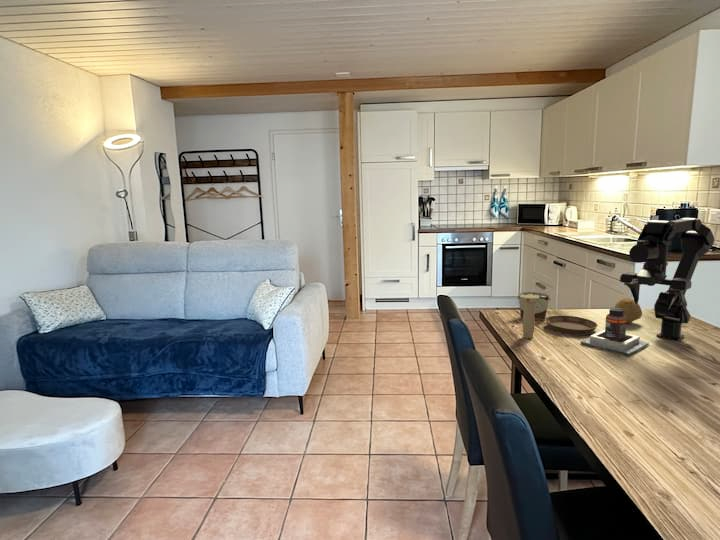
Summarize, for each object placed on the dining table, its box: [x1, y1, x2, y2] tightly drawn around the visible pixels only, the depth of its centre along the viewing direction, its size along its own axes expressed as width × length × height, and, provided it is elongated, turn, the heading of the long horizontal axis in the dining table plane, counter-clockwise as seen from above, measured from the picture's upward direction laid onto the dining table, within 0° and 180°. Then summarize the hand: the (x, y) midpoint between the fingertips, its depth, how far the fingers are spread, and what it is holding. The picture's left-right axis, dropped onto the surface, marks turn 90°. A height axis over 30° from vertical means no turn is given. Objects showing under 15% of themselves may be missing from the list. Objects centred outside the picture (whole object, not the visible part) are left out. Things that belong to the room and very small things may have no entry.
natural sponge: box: [614, 296, 643, 324], centre depth 168 cm, size 9×9×10 cm
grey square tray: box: [580, 328, 650, 358], centre depth 145 cm, size 15×15×3 cm
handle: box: [520, 295, 539, 339], centre depth 154 cm, size 5×6×15 cm
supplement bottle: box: [604, 307, 627, 342], centre depth 144 cm, size 6×6×11 cm
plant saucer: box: [544, 315, 598, 336], centre depth 163 cm, size 18×18×3 cm
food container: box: [517, 291, 551, 321], centre depth 179 cm, size 12×6×10 cm, turn 71°
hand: (651, 306), depth 143 cm, fingers open, 9 cm apart
